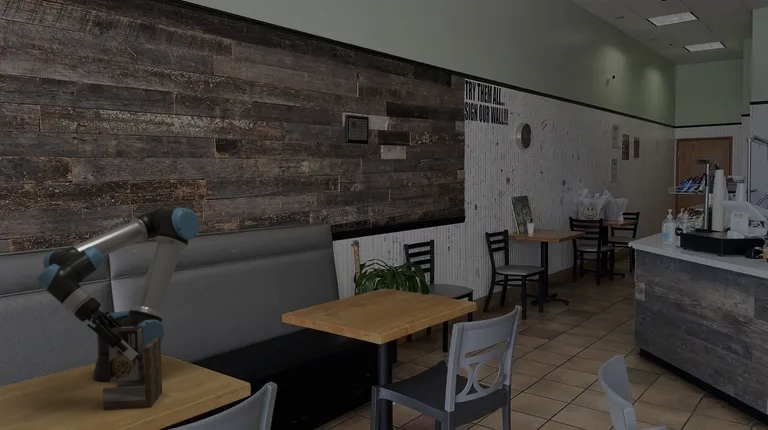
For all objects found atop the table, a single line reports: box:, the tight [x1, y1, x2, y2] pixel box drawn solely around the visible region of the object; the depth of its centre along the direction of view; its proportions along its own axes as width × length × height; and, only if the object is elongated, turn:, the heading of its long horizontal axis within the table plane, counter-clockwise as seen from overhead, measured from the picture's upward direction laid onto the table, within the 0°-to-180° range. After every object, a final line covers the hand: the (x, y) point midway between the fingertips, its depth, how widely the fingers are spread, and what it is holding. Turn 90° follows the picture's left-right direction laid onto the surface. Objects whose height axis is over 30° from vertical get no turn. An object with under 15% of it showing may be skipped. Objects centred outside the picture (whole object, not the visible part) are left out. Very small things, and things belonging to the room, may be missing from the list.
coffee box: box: [109, 326, 145, 383], centre depth 193 cm, size 9×6×16 cm
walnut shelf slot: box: [102, 337, 163, 411], centre depth 194 cm, size 14×14×18 cm
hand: (137, 354), depth 193 cm, fingers closed on coffee box, 6 cm apart
